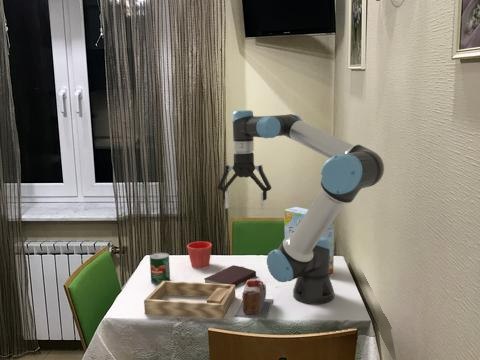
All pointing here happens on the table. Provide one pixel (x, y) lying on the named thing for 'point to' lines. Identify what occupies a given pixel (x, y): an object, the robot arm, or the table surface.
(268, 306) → the mat
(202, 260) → the flower pot
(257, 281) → the food item
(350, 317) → the table surface
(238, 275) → the book
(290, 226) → the snack box
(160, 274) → the canned tomato
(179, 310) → the tray
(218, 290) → the offcut stack
